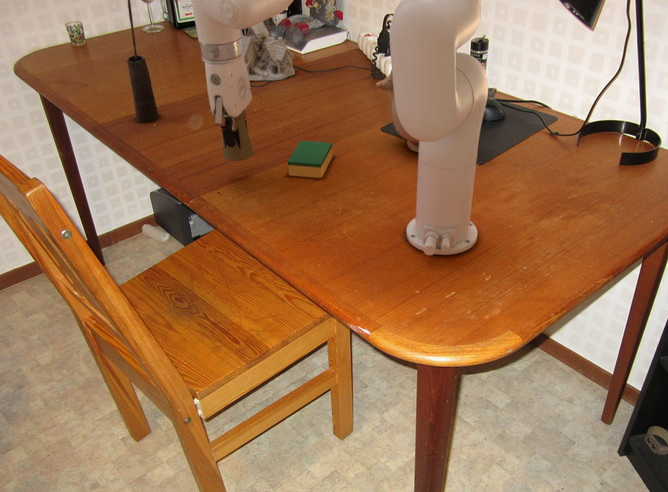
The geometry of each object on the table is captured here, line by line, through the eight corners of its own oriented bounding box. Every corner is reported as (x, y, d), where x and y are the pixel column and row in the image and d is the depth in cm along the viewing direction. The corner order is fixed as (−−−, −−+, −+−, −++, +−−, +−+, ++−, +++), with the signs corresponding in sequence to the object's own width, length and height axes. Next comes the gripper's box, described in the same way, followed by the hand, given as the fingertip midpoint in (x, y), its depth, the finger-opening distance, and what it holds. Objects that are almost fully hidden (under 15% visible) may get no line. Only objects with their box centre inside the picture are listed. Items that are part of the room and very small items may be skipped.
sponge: (321, 178, 133) (320, 164, 131) (288, 175, 134) (287, 161, 132) (332, 156, 140) (332, 142, 138) (301, 154, 141) (300, 140, 139)
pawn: (217, 157, 128) (206, 103, 121) (235, 145, 132) (227, 92, 125) (241, 163, 126) (232, 108, 119) (259, 150, 130) (252, 97, 123)
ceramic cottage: (221, 72, 180) (216, 16, 171) (269, 61, 189) (267, 7, 179) (253, 91, 172) (250, 33, 162) (302, 78, 181) (302, 23, 171)
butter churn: (135, 131, 151) (103, 4, 134) (118, 119, 157) (85, -5, 139) (171, 121, 156) (144, -4, 138) (154, 109, 161) (126, -12, 144)
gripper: (224, 65, 109) (240, 164, 121) (256, 35, 122) (268, 127, 133) (183, 63, 111) (203, 161, 122) (219, 34, 123) (234, 126, 135)
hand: (237, 143), depth 128 cm, fingers closed on pawn, 3 cm apart
